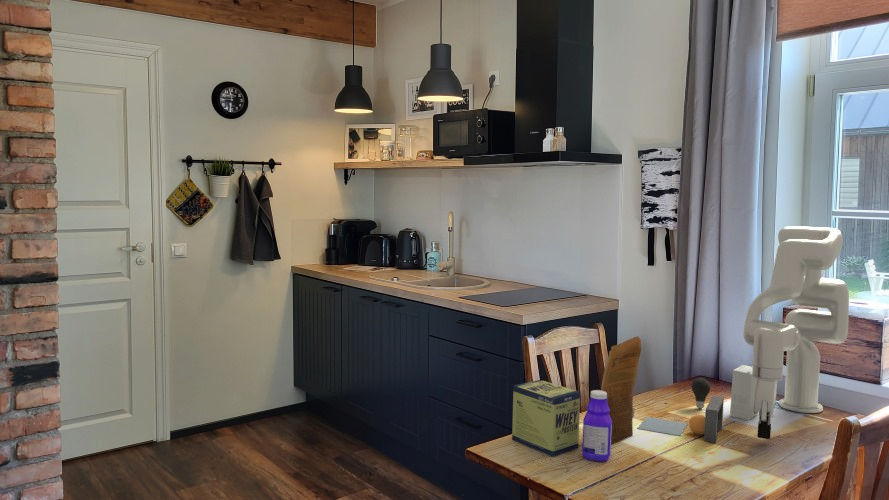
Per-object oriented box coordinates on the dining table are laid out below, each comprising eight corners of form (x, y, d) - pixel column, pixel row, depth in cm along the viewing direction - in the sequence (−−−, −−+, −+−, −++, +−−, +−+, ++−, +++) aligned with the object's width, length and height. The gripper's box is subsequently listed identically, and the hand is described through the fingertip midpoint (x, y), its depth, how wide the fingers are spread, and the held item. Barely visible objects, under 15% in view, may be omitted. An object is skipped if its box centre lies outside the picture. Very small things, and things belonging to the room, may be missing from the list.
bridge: (704, 441, 193) (705, 409, 192) (711, 426, 206) (712, 395, 205) (715, 443, 192) (717, 410, 191) (722, 428, 205) (723, 397, 204)
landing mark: (646, 417, 214) (646, 416, 214) (687, 423, 208) (687, 423, 208) (637, 428, 203) (637, 428, 203) (680, 436, 197) (680, 435, 197)
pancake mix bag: (646, 434, 199) (650, 336, 196) (607, 450, 186) (611, 346, 183) (625, 428, 204) (629, 332, 201) (586, 443, 191) (589, 342, 188)
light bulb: (710, 412, 219) (712, 380, 218) (691, 411, 220) (693, 379, 219) (707, 406, 225) (709, 376, 224) (689, 405, 226) (690, 375, 225)
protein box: (553, 457, 181) (554, 398, 179) (511, 440, 193) (512, 384, 191) (580, 448, 187) (581, 391, 186) (537, 432, 199) (538, 378, 198)
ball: (697, 433, 202) (687, 416, 203) (714, 425, 200) (704, 408, 201) (694, 440, 198) (683, 423, 198) (712, 433, 195) (701, 415, 196)
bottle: (611, 456, 182) (614, 390, 180) (609, 464, 176) (611, 396, 175) (583, 452, 184) (585, 387, 183) (580, 460, 179) (582, 393, 177)
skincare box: (739, 410, 221) (741, 364, 220) (759, 414, 217) (761, 367, 216) (729, 416, 215) (731, 368, 214) (749, 421, 211) (751, 372, 210)
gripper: (754, 364, 199) (751, 427, 201) (749, 376, 186) (746, 443, 188) (783, 368, 196) (780, 432, 197) (781, 380, 183) (777, 449, 184)
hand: (763, 437), depth 193 cm, fingers closed
